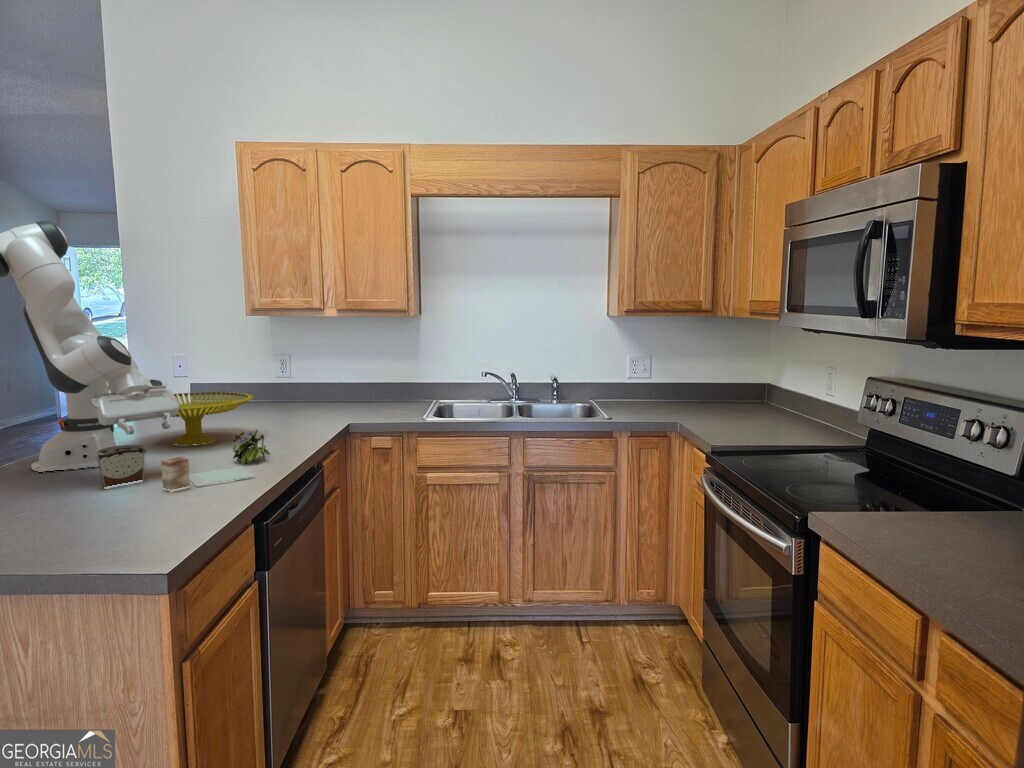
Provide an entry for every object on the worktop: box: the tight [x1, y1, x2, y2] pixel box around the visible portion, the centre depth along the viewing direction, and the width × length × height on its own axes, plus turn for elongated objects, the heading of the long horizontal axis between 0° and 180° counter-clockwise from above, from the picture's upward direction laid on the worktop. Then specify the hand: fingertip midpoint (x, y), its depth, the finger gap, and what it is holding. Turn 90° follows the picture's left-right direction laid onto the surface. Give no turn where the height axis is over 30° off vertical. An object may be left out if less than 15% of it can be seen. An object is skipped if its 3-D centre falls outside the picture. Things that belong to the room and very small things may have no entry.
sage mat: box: [189, 466, 256, 484], centre depth 180 cm, size 15×13×1 cm
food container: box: [95, 444, 148, 488], centre depth 173 cm, size 12×6×10 cm, turn 141°
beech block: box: [160, 456, 191, 490], centre depth 169 cm, size 5×4×8 cm
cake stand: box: [169, 391, 255, 445], centre depth 225 cm, size 40×40×15 cm
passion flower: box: [232, 428, 271, 465], centre depth 199 cm, size 11×11×12 cm
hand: (149, 430), depth 174 cm, fingers open, 8 cm apart
